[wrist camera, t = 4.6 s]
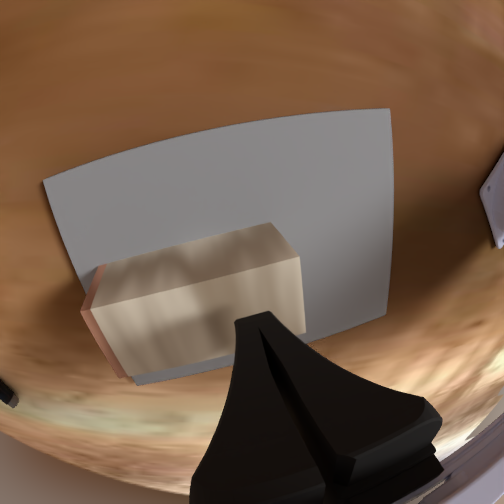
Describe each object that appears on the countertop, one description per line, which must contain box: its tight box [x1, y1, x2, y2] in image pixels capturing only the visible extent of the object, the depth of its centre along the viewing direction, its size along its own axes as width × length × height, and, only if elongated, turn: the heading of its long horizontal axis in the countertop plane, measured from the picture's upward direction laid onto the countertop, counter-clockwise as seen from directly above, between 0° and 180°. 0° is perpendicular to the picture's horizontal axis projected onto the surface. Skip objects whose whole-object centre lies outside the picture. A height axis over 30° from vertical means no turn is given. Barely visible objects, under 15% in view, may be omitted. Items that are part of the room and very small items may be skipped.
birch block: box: [80, 222, 306, 378], centre depth 14 cm, size 4×4×9 cm
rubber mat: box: [43, 108, 394, 386], centre depth 16 cm, size 18×14×1 cm
